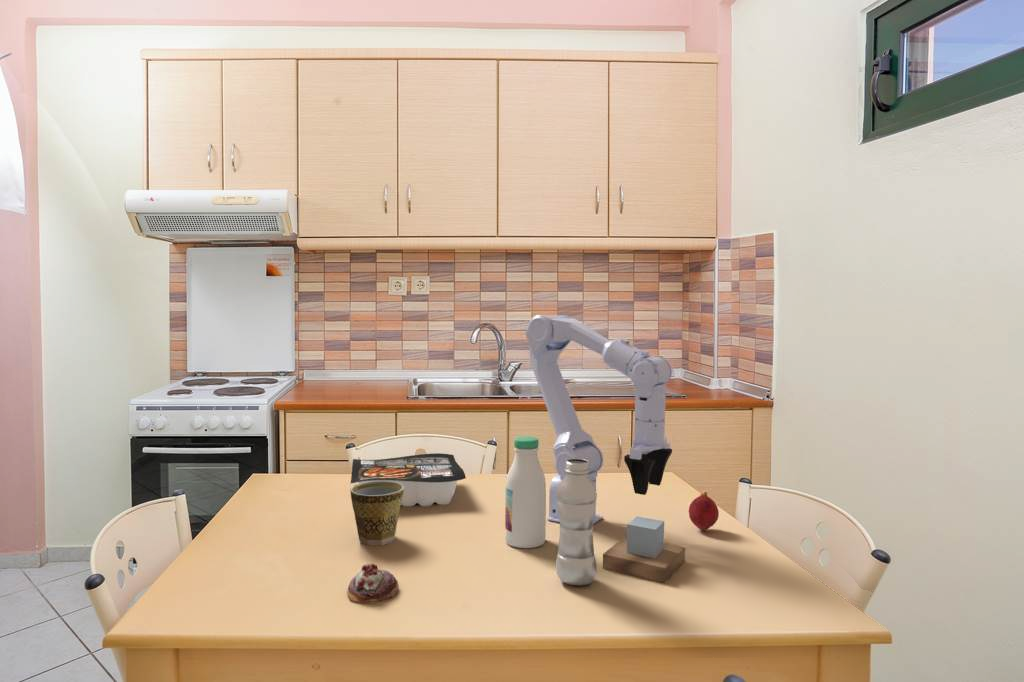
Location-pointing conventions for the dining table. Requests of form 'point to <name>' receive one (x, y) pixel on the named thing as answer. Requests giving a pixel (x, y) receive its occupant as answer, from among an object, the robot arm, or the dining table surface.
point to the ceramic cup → (376, 510)
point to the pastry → (372, 585)
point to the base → (644, 561)
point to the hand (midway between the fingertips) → (647, 489)
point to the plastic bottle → (576, 525)
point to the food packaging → (414, 476)
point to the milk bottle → (525, 497)
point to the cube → (645, 537)
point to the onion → (703, 512)
